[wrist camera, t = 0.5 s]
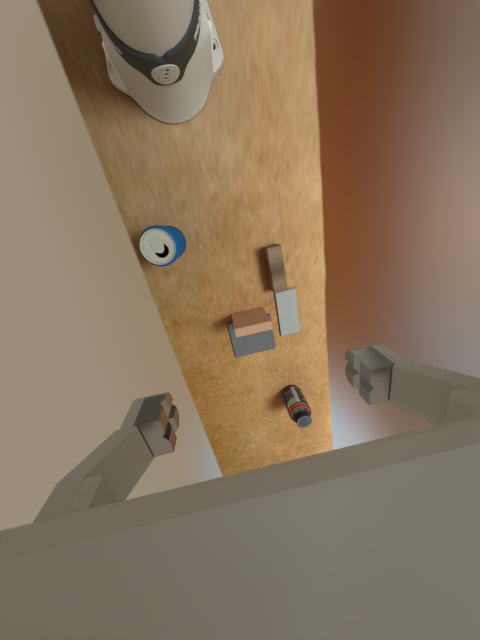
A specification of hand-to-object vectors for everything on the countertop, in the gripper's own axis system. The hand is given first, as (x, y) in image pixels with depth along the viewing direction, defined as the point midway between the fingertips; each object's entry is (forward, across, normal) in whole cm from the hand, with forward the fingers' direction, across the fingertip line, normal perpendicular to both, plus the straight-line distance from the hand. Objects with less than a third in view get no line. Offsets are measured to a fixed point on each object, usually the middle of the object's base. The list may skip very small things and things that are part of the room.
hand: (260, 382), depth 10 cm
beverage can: (+43, +10, -6) cm, 45 cm away
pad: (+43, -13, +16) cm, 48 cm away
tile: (+43, -3, +14) cm, 45 cm away
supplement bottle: (+43, -11, +42) cm, 61 cm away
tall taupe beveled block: (+43, -11, +4) cm, 45 cm away
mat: (+43, -3, +20) cm, 48 cm away
